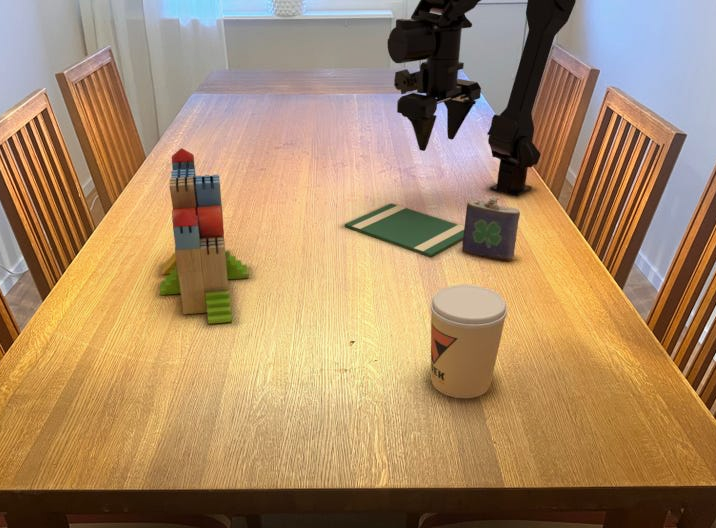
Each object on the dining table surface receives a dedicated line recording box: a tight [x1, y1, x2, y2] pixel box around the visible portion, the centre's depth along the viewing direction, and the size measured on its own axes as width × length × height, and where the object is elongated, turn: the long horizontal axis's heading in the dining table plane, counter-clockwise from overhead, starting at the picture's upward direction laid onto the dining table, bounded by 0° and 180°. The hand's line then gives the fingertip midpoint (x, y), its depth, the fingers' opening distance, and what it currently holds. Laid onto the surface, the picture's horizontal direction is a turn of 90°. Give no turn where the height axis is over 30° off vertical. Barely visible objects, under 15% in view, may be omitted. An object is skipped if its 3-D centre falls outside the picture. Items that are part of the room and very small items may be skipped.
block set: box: [159, 148, 249, 324], centre depth 116 cm, size 28×14×19 cm, turn 9°
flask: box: [461, 195, 521, 262], centre depth 127 cm, size 9×3×11 cm, turn 61°
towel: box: [344, 203, 465, 258], centre depth 139 cm, size 14×20×1 cm
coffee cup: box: [429, 284, 508, 399], centre depth 94 cm, size 9×9×12 cm
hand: (436, 144), depth 140 cm, fingers open, 9 cm apart
